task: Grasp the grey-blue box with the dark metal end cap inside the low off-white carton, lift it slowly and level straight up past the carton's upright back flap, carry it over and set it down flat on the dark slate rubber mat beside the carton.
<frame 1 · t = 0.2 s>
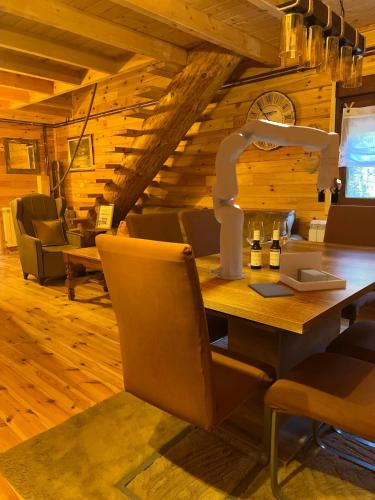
hand: (327, 202, 165), 31 cm above the table, tool pointing down, fingers open, 9 cm apart
slate mat: (270, 290, 139), on the table
carton: (311, 283, 147), on the table
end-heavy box: (311, 284, 147), resting in carton
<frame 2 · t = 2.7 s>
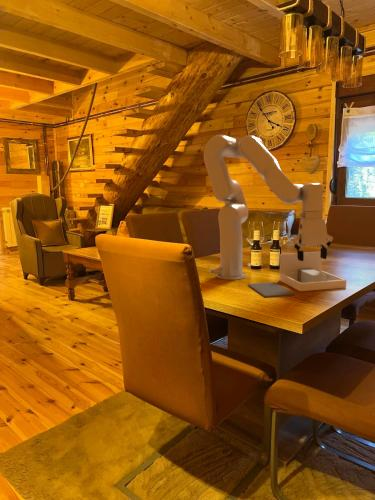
hand: (312, 259, 146), 10 cm above the table, tool pointing down, fingers open, 9 cm apart
nothing on the table moved.
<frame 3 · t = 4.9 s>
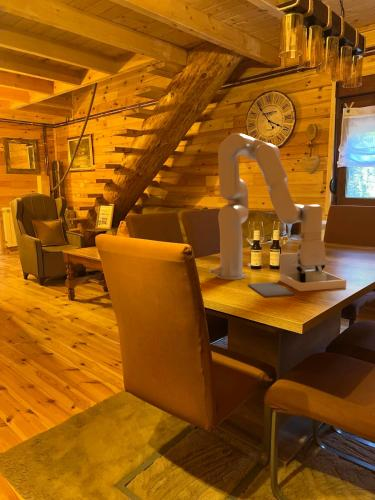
hand: (309, 281, 148), 1 cm above the table, tool pointing down, fingers closed on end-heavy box, 5 cm apart
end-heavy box: (311, 283, 147), resting in carton, touching gripper
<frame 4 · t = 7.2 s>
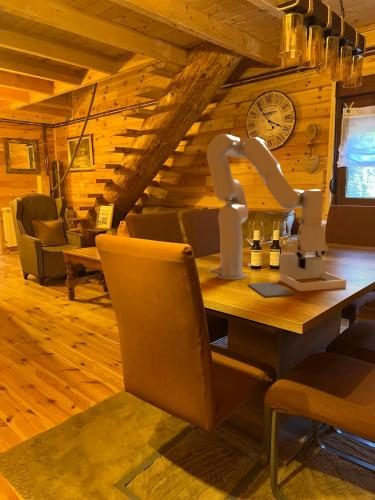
hand: (309, 267, 147), 6 cm above the table, tool pointing down, fingers closed on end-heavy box, 5 cm apart
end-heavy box: (310, 269, 146), point 6 cm above the table, touching gripper
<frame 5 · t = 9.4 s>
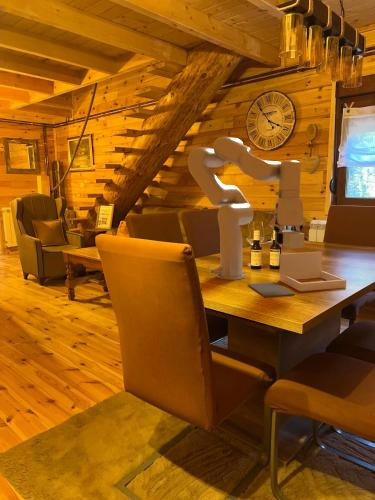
hand: (287, 242, 141), 17 cm above the table, tool pointing down, fingers closed on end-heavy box, 5 cm apart
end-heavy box: (288, 245, 140), point 16 cm above the table, touching gripper
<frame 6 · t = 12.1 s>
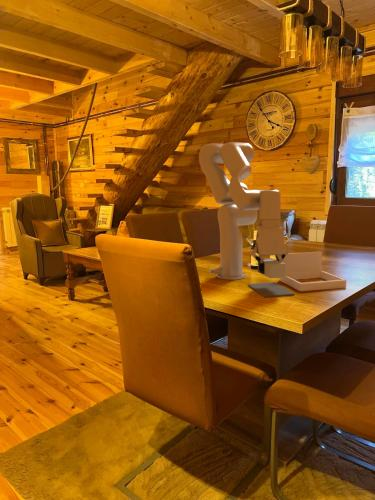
hand: (269, 272, 139), 7 cm above the table, tool pointing down, fingers closed on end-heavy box, 5 cm apart
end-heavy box: (270, 274, 138), point 6 cm above the table, touching gripper
when the fingers open (2 cm above the table, at t = 14.2 s): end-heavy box stays where it is, resting on slate mat.
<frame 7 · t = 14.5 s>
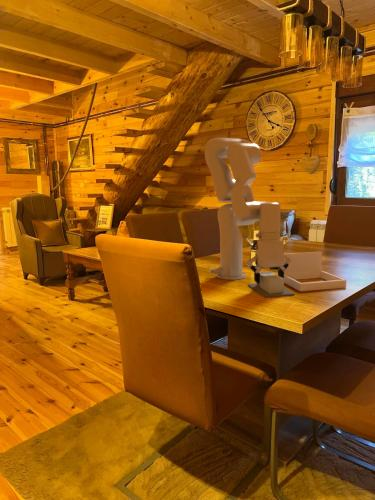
hand: (269, 281, 140), 3 cm above the table, tool pointing down, fingers open, 8 cm apart
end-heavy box: (269, 288, 139), point 1 cm above the table, touching slate mat
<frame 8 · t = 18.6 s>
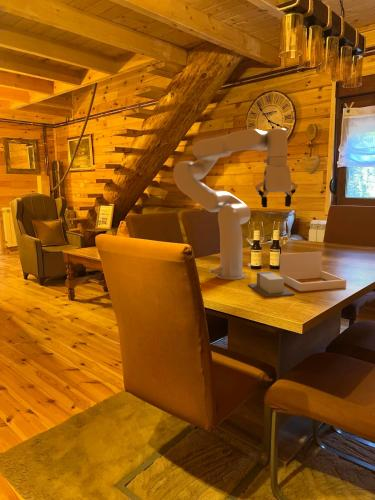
hand: (276, 206, 146), 30 cm above the table, tool pointing down, fingers open, 9 cm apart
nothing on the table moved.
at the end: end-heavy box inside the target area on the slate mat (0.1 cm from its centre), point 0.6 cm above the slate mat's base; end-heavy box tilted 0°; the gripper is holding nothing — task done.
